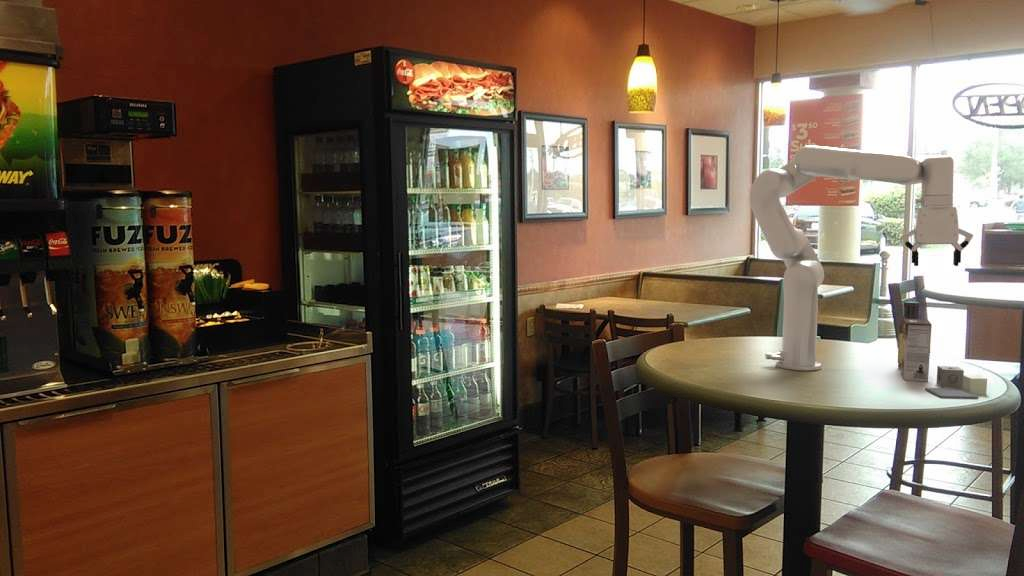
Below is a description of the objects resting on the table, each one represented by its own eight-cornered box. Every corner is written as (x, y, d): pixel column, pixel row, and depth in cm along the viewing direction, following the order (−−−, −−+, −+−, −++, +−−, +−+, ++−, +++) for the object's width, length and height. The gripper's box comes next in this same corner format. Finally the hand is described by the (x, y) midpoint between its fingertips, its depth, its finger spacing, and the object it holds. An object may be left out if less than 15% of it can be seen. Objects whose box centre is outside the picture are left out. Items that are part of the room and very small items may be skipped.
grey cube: (941, 388, 211) (942, 369, 211) (936, 384, 216) (937, 365, 215) (962, 389, 210) (963, 370, 209) (956, 385, 215) (957, 366, 214)
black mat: (941, 398, 199) (941, 396, 199) (924, 389, 208) (924, 388, 208) (978, 398, 199) (978, 396, 198) (960, 390, 207) (960, 388, 207)
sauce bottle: (923, 371, 232) (927, 303, 230) (900, 370, 233) (904, 303, 231) (916, 367, 238) (920, 301, 237) (894, 366, 240) (897, 300, 238)
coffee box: (899, 373, 229) (902, 318, 227) (924, 375, 226) (927, 319, 225) (903, 380, 220) (906, 322, 218) (929, 382, 218) (932, 323, 216)
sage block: (970, 393, 204) (971, 378, 204) (962, 390, 208) (963, 375, 208) (986, 394, 204) (987, 378, 204) (978, 390, 208) (979, 375, 208)
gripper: (902, 203, 215) (902, 266, 217) (976, 201, 209) (974, 266, 211) (900, 203, 222) (899, 265, 224) (970, 201, 216) (969, 264, 218)
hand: (935, 265), depth 217 cm, fingers open, 9 cm apart
